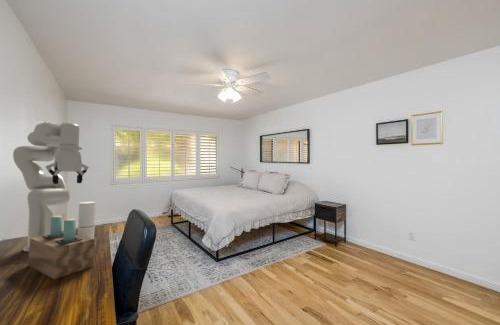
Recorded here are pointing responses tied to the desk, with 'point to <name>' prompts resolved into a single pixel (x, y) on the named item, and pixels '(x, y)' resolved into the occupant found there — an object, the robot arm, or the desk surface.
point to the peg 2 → (69, 230)
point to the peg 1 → (56, 226)
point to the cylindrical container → (86, 219)
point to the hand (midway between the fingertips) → (67, 183)
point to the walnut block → (60, 255)
